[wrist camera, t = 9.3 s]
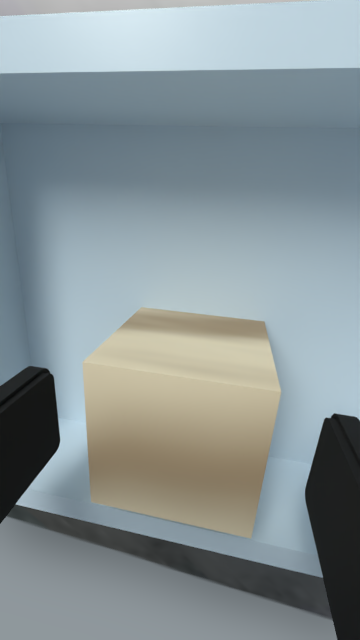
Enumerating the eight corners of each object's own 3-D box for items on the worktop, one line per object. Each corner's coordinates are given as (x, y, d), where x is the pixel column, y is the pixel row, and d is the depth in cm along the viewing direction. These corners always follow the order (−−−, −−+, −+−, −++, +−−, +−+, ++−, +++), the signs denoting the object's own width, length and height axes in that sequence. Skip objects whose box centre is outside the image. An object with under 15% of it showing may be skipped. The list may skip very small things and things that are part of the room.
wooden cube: (141, 307, 12) (82, 361, 8) (264, 321, 12) (281, 391, 7) (140, 407, 14) (90, 502, 9) (247, 425, 13) (251, 538, 9)
